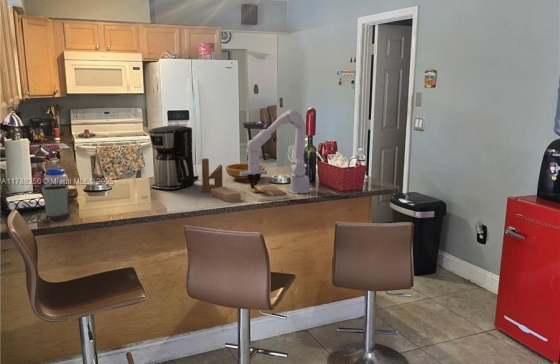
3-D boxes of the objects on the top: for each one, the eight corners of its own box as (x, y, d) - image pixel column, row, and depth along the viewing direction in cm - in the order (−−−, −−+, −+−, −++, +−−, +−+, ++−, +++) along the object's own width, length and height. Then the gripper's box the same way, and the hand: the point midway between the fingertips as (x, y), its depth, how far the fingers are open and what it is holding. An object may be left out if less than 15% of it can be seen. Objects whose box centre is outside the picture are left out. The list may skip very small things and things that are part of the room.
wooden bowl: (218, 177, 288) (218, 164, 287) (253, 173, 299) (253, 161, 297) (235, 186, 262) (235, 172, 261) (273, 182, 273) (274, 169, 272)
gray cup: (39, 216, 200) (36, 189, 197) (54, 210, 210) (51, 184, 207) (60, 217, 198) (58, 190, 196) (74, 211, 208) (72, 185, 206)
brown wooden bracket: (222, 191, 249) (222, 158, 246) (203, 192, 245) (202, 159, 241) (220, 189, 253) (220, 157, 249) (201, 191, 248) (200, 158, 245)
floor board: (273, 190, 252) (273, 185, 251) (287, 198, 234) (288, 193, 233) (245, 192, 246) (245, 187, 245) (258, 201, 228) (258, 195, 227)
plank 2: (267, 192, 239) (268, 190, 239) (273, 195, 231) (274, 193, 231) (254, 187, 236) (254, 184, 236) (260, 190, 228) (260, 188, 228)
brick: (242, 200, 230) (241, 191, 229) (227, 203, 225) (227, 194, 224) (224, 195, 242) (224, 186, 241) (210, 197, 237) (210, 188, 236)
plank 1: (261, 188, 248) (261, 186, 248) (267, 192, 240) (267, 190, 240) (247, 188, 245) (247, 186, 244) (253, 192, 237) (253, 190, 237)
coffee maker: (146, 190, 250) (142, 128, 243) (164, 179, 281) (161, 123, 274) (187, 191, 248) (185, 129, 241) (201, 179, 280) (199, 124, 273)
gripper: (264, 161, 245) (263, 186, 248) (238, 162, 239) (238, 187, 242) (268, 163, 239) (268, 188, 241) (242, 164, 233) (242, 190, 236)
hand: (253, 188), depth 241 cm, fingers closed, pressing on plank 1
